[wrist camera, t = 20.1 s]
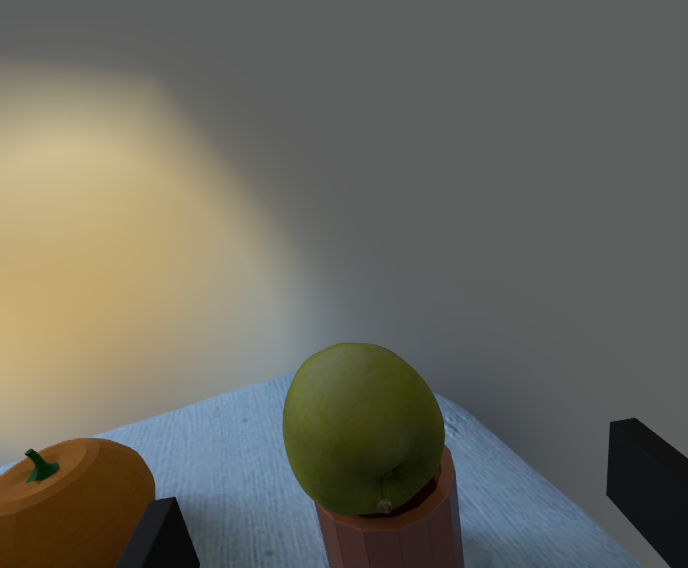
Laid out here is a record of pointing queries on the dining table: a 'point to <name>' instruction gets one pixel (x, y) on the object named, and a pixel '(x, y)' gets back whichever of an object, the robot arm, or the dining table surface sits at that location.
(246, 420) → the dining table surface
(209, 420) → the dining table surface
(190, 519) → the dining table surface
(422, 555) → the cup
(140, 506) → the fruit
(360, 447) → the apple
